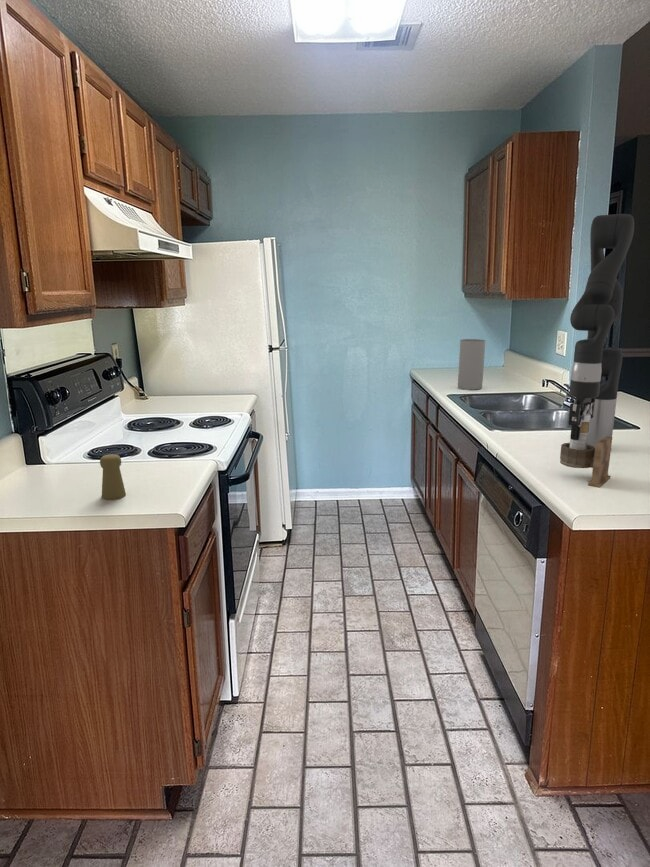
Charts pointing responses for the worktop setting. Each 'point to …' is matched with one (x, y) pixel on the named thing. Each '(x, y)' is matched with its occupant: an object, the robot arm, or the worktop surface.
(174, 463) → the worktop surface
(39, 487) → the worktop surface
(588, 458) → the bracket
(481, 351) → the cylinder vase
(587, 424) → the sprinkles bottle
